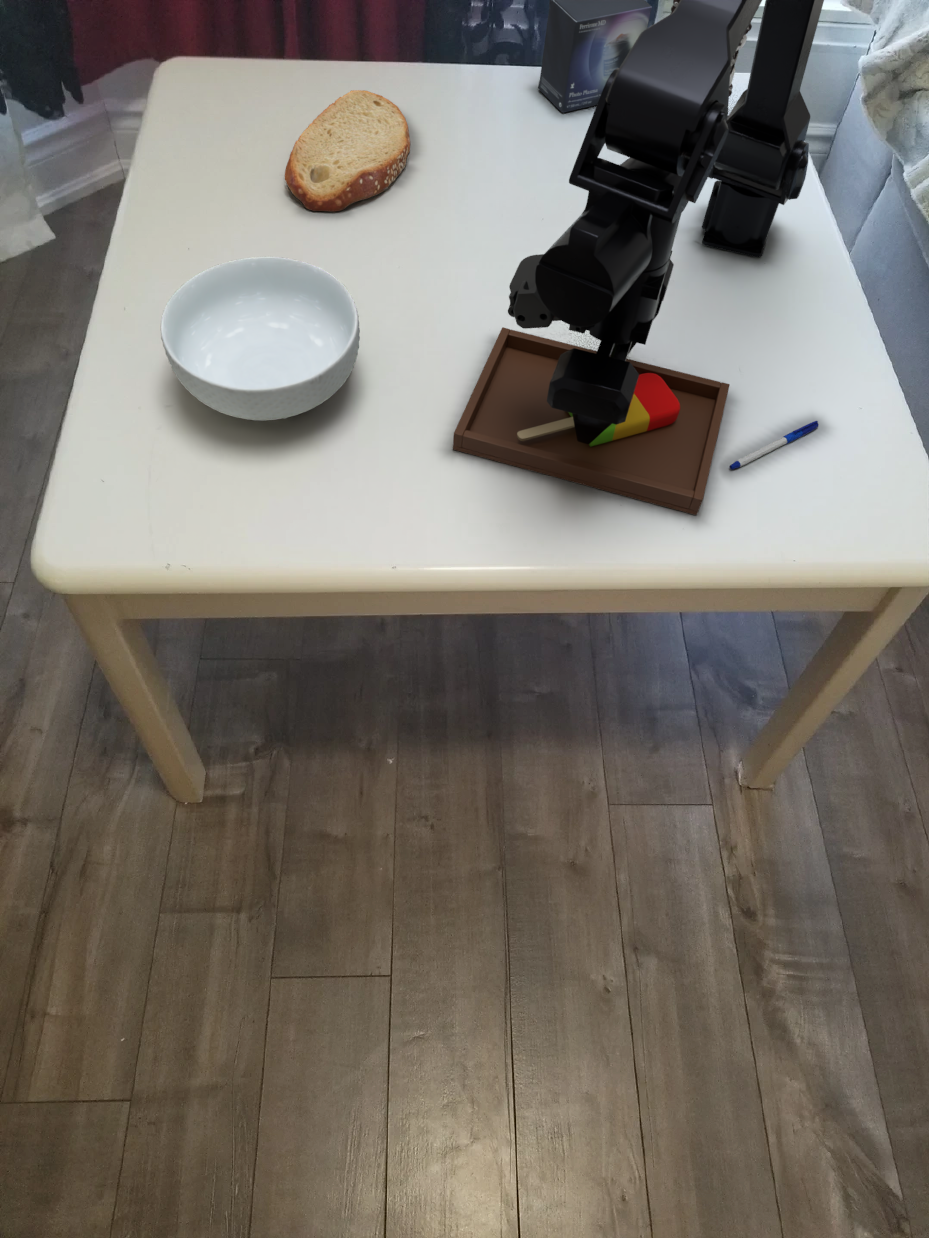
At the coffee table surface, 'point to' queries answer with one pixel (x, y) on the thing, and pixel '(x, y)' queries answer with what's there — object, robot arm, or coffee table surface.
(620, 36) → the small box
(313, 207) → the bread slice
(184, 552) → the coffee table surface
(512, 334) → the tray
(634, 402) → the popsicle
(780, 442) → the ballpoint pen
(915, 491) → the coffee table surface
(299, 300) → the cereal bowl
